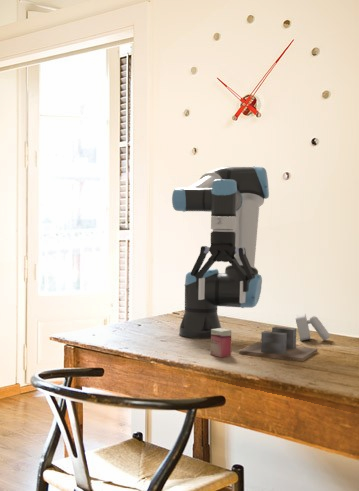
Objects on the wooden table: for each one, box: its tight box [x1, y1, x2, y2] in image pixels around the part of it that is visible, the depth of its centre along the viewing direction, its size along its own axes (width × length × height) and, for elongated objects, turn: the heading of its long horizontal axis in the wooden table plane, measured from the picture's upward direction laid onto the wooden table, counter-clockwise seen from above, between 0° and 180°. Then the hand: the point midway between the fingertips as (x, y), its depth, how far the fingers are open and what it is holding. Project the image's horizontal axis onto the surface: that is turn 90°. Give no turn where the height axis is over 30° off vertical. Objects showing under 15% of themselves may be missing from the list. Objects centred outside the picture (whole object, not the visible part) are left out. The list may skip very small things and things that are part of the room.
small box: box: [209, 327, 233, 358], centre depth 194 cm, size 5×4×8 cm
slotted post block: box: [238, 326, 318, 363], centre depth 199 cm, size 20×16×7 cm
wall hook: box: [295, 313, 332, 342], centre depth 221 cm, size 8×10×10 cm
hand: (221, 301), depth 193 cm, fingers open, 13 cm apart
